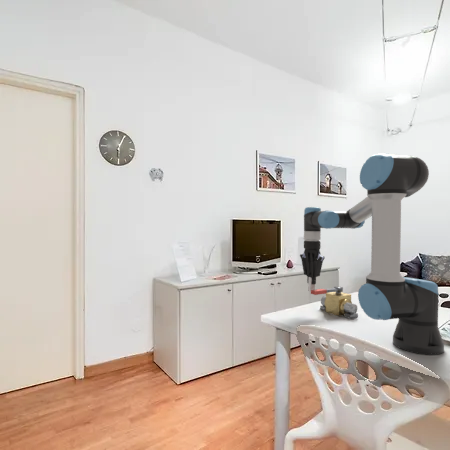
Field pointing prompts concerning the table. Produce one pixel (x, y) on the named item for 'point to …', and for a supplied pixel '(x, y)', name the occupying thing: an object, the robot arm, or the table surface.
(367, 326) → the table surface
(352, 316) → the valve
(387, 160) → the robot arm
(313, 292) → the lever
